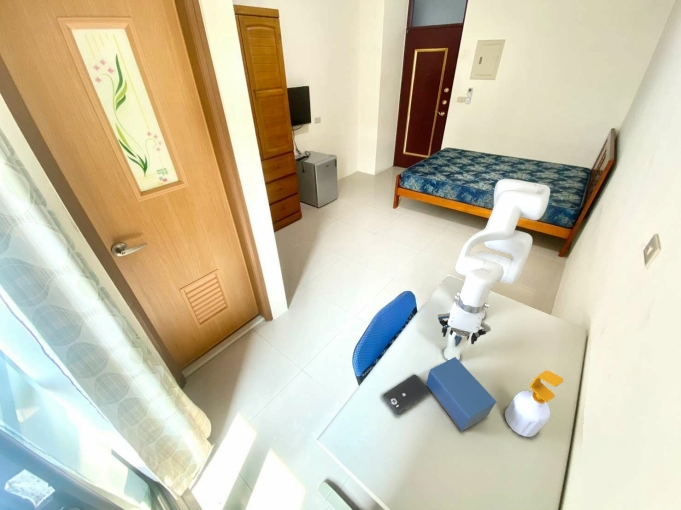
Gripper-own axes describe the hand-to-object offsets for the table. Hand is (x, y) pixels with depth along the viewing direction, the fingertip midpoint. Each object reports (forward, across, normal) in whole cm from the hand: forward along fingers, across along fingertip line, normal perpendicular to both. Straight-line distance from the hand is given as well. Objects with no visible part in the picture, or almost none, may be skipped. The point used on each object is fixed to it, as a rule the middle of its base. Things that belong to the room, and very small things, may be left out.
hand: (457, 337), depth 102 cm
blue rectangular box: (+11, -2, +18) cm, 21 cm away
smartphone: (+12, +14, +21) cm, 28 cm away
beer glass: (+11, 0, -1) cm, 11 cm away
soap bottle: (+11, -21, +18) cm, 30 cm away
